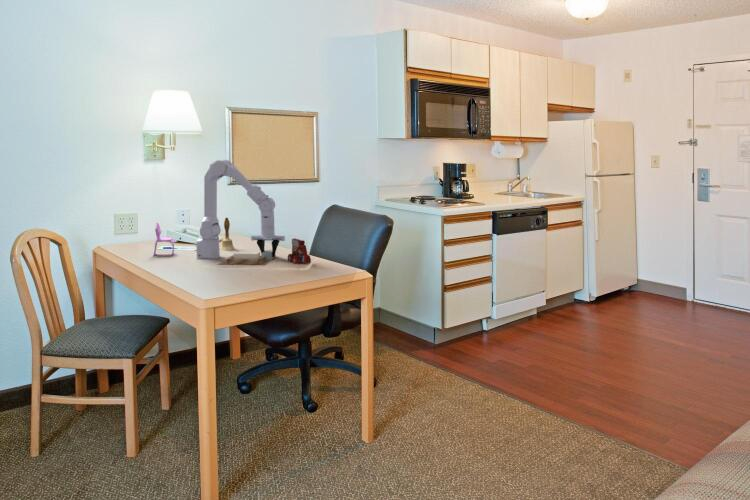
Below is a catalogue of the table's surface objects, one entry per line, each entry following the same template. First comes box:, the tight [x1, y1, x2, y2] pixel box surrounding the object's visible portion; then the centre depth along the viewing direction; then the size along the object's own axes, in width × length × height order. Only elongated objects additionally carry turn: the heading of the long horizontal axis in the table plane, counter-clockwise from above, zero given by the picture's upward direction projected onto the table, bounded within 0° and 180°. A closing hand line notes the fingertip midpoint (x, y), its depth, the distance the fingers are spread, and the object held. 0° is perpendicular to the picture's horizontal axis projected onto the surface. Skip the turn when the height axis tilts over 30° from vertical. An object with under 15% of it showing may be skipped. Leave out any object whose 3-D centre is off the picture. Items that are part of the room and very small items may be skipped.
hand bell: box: [219, 217, 236, 252], centre depth 278 cm, size 8×8×16 cm
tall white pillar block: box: [233, 251, 261, 259], centre depth 248 cm, size 10×4×4 cm, turn 87°
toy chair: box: [153, 221, 175, 257], centre depth 268 cm, size 8×9×15 cm
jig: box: [216, 254, 273, 266], centre depth 253 cm, size 20×22×3 cm
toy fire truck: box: [287, 238, 312, 265], centre depth 249 cm, size 7×12×10 cm, turn 32°
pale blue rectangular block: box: [260, 249, 275, 261], centre depth 257 cm, size 4×9×3 cm, turn 177°
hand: (268, 256), depth 257 cm, fingers closed on pale blue rectangular block, 4 cm apart
